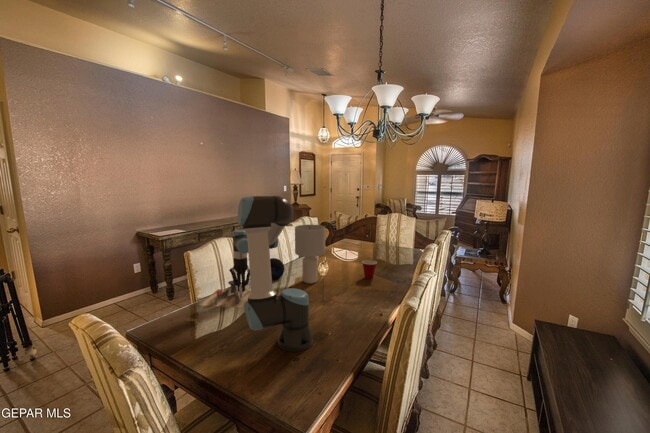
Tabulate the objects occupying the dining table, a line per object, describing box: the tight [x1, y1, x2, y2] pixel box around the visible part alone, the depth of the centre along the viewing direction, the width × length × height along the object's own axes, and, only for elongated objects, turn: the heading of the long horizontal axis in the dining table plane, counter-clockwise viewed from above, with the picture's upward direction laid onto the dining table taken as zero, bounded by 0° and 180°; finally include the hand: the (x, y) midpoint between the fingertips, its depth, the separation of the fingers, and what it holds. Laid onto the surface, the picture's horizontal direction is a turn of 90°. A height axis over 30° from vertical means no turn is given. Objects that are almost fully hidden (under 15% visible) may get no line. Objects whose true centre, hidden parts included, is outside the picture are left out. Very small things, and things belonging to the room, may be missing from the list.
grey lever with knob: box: [227, 280, 239, 304], centre depth 165 cm, size 20×5×6 cm, turn 25°
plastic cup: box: [361, 260, 378, 280], centre depth 202 cm, size 11×11×12 cm
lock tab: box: [216, 289, 223, 296], centre depth 159 cm, size 3×2×2 cm, turn 170°
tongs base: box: [215, 285, 234, 305], centre depth 164 cm, size 19×3×5 cm, turn 170°
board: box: [199, 289, 251, 309], centre depth 165 cm, size 26×22×1 cm
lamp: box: [294, 224, 326, 285], centre depth 192 cm, size 20×20×39 cm
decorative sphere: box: [270, 257, 285, 281], centre depth 197 cm, size 15×15×15 cm
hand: (241, 296), depth 163 cm, fingers closed
